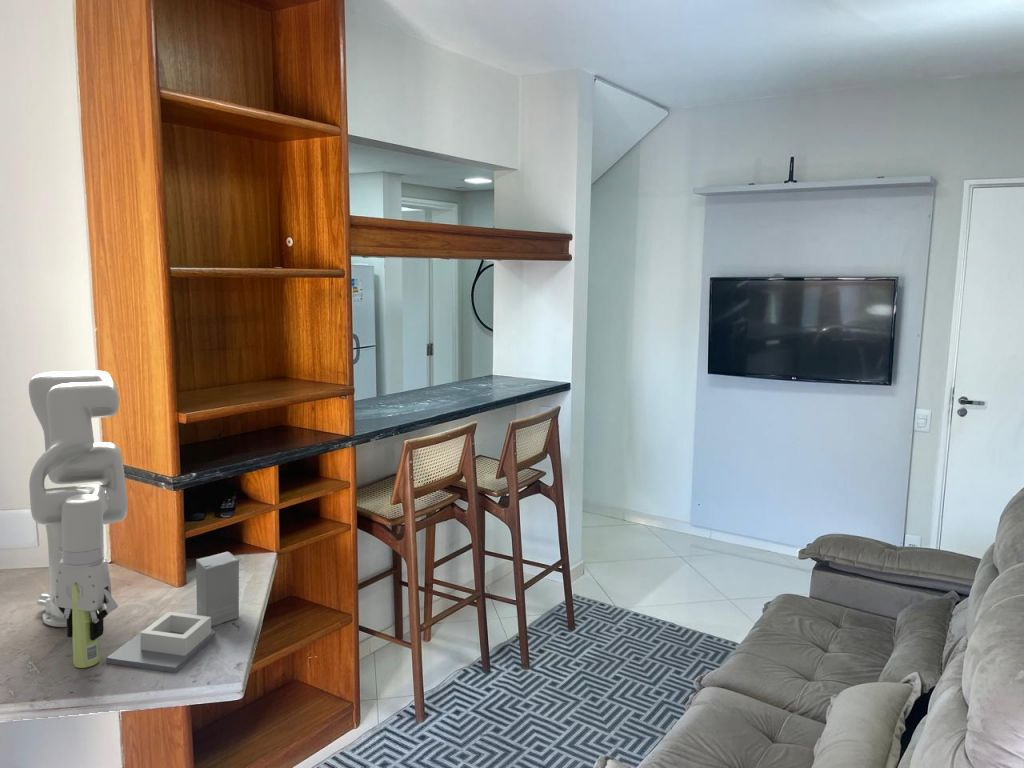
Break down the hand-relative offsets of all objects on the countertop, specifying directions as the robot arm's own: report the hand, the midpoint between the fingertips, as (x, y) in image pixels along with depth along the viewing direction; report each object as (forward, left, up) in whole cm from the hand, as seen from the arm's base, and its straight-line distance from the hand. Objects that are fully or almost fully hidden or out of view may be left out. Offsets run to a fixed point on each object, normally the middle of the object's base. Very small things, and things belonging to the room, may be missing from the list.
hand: (85, 635), depth 157 cm
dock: (+12, +9, -6) cm, 16 cm away
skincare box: (+16, +25, -7) cm, 30 cm away
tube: (0, 0, -7) cm, 7 cm away
